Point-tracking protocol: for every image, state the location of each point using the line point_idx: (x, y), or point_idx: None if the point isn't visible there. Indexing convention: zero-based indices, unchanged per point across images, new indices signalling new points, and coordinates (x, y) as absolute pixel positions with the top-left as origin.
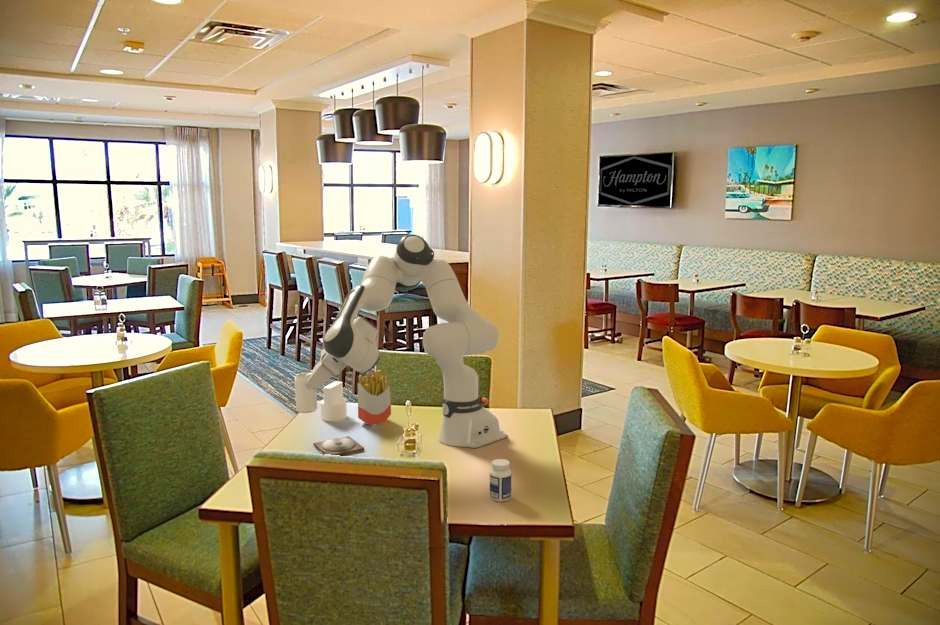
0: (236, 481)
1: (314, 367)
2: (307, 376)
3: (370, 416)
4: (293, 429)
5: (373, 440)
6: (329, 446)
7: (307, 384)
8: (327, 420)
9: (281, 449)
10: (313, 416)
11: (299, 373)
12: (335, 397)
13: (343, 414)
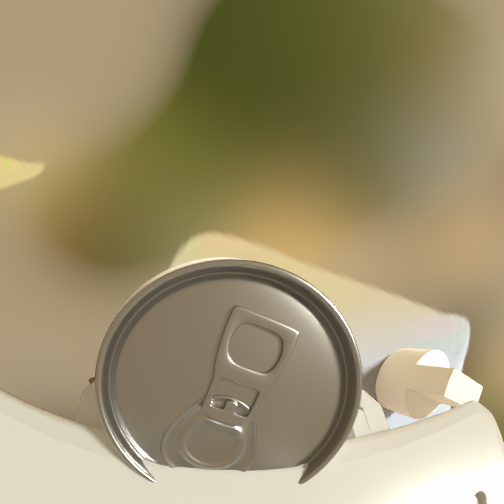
0: (36, 171)
1: (445, 436)
2: (113, 424)
3: None
4: (337, 285)
5: None
6: None
7: (91, 390)
8: (381, 369)
9: (182, 256)
10: (412, 327)
11: (288, 316)
12: (430, 397)
13: (390, 409)
